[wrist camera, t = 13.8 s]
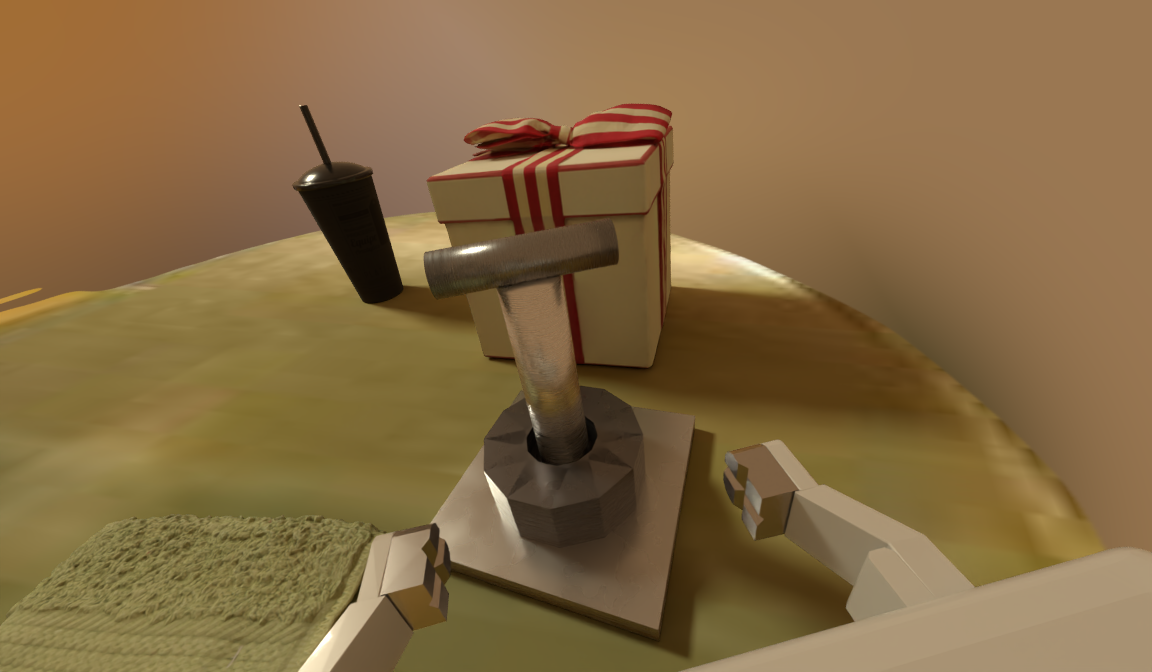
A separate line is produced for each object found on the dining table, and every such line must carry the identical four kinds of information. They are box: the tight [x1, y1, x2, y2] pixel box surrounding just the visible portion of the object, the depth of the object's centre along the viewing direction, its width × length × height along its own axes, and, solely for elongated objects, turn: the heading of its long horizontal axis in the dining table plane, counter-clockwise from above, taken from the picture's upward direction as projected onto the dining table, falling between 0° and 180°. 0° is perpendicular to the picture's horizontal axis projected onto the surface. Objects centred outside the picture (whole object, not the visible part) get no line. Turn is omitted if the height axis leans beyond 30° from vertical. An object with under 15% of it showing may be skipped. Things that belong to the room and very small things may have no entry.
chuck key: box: [424, 218, 619, 466], centre depth 19 cm, size 7×3×14 cm, turn 100°
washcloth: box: [0, 514, 386, 672], centre depth 18 cm, size 13×18×3 cm
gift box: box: [427, 104, 673, 368], centre depth 35 cm, size 17×18×17 cm
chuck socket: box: [430, 386, 695, 641], centre depth 22 cm, size 12×12×4 cm
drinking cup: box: [292, 105, 403, 303], centre depth 45 cm, size 8×8×20 cm
